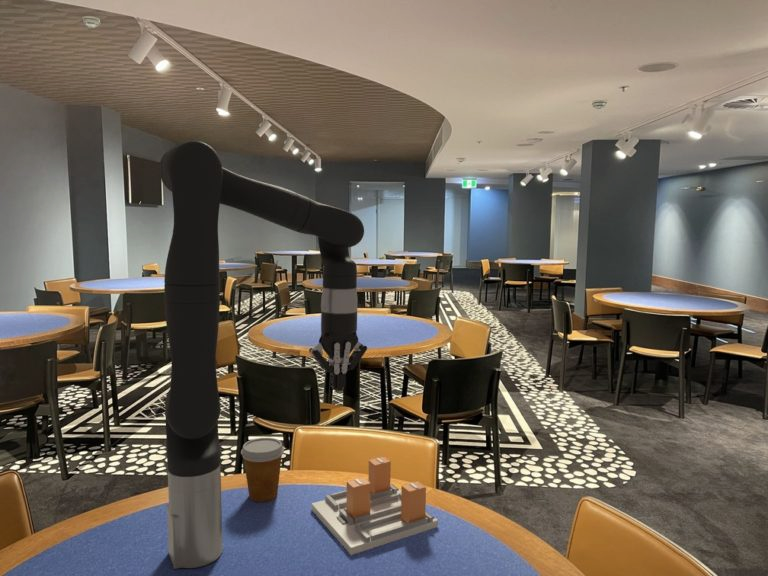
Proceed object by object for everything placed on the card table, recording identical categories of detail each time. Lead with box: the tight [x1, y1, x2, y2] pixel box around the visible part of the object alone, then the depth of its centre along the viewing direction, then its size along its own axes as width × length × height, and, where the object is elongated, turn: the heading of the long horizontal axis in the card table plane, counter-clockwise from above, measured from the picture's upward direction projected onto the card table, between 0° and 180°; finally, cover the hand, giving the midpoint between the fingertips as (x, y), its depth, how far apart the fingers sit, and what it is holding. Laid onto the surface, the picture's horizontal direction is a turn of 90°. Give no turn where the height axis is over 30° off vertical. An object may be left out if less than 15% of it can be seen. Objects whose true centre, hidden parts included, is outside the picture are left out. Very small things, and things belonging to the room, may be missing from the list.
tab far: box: [368, 456, 392, 494], centre depth 125 cm, size 4×3×7 cm
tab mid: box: [346, 476, 370, 520], centre depth 115 cm, size 4×3×7 cm
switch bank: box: [310, 482, 439, 556], centre depth 117 cm, size 20×19×2 cm
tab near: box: [400, 480, 427, 523], centre depth 113 cm, size 4×3×7 cm
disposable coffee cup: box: [240, 437, 285, 503], centre depth 126 cm, size 10×10×12 cm
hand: (337, 390), depth 117 cm, fingers closed
